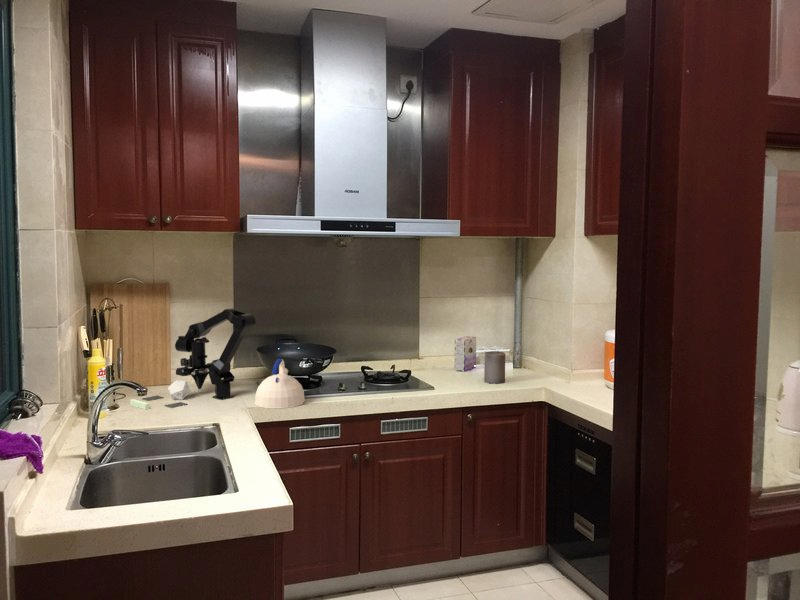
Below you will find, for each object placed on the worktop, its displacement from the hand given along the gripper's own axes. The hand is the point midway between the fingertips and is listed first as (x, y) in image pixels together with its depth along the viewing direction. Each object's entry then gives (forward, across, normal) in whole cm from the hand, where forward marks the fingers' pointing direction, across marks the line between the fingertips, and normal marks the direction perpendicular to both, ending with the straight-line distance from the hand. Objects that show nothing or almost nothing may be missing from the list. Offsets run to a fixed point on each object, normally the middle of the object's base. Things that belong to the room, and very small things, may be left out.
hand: (199, 388), depth 276 cm
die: (+3, +10, 0) cm, 10 cm away
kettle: (+3, -14, +37) cm, 39 cm away
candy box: (+3, -121, +54) cm, 133 cm away
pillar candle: (+3, -104, +82) cm, 133 cm away
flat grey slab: (+2, +20, 0) cm, 21 cm away
